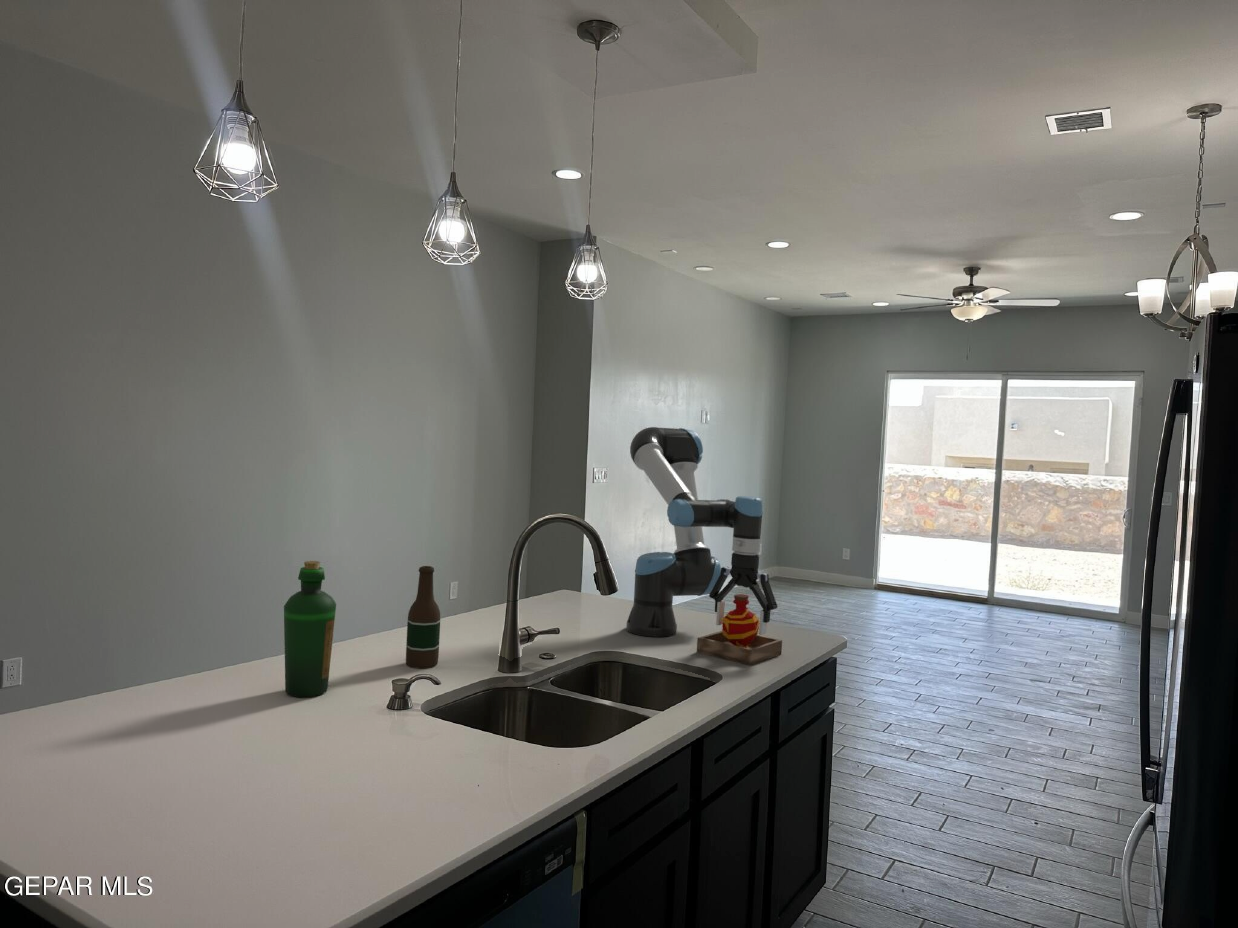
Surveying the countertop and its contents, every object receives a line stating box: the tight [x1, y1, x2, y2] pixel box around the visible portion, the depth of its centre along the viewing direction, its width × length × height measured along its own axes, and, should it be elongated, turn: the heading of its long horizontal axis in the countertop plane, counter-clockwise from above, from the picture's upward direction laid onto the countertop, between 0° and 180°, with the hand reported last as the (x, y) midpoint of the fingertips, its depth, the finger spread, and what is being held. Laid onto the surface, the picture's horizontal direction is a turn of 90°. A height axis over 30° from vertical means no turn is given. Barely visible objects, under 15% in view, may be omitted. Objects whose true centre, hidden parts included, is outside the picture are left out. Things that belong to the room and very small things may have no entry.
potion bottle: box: [721, 593, 760, 649], centre depth 237 cm, size 10×10×15 cm
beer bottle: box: [405, 565, 441, 670], centre depth 208 cm, size 8×8×24 cm
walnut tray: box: [696, 630, 783, 666], centre depth 237 cm, size 17×17×4 cm
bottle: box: [283, 560, 337, 698], centre depth 183 cm, size 11×11×28 cm
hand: (740, 629), depth 237 cm, fingers open, 13 cm apart
